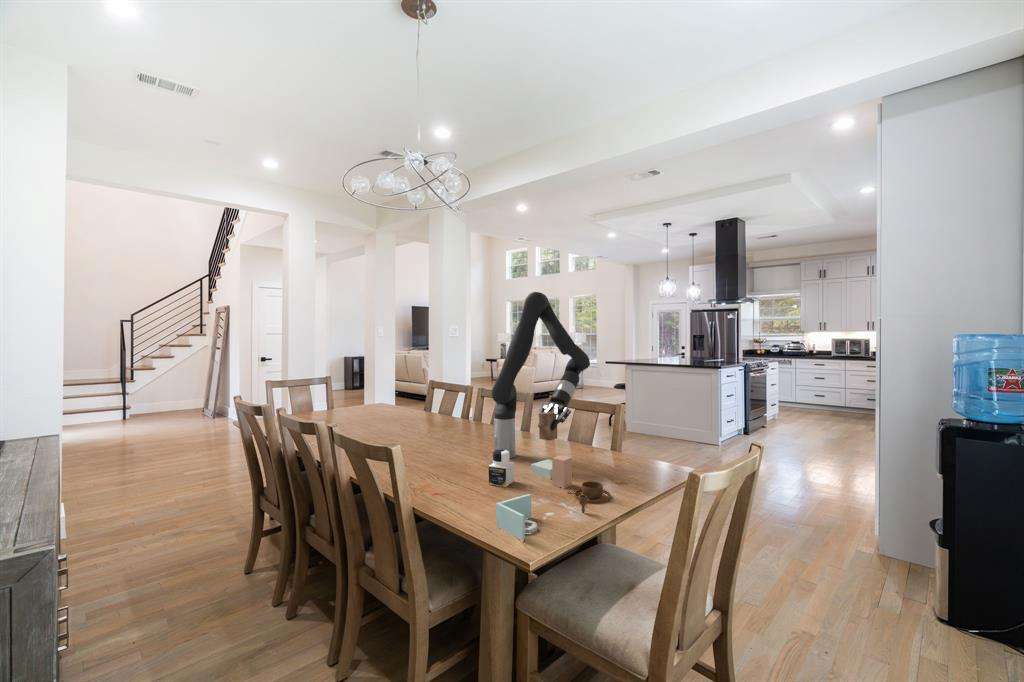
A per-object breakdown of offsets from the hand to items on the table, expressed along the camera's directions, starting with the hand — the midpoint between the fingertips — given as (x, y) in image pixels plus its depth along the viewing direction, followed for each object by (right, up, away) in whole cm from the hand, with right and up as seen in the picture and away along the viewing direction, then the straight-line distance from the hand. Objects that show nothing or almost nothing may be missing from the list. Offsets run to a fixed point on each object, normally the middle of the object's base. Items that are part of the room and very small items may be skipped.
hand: (545, 428), depth 180 cm
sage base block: (+1, -18, +2) cm, 18 cm away
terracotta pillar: (+5, -18, -12) cm, 23 cm away
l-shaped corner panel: (-9, -20, -48) cm, 53 cm away
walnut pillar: (+1, -4, +2) cm, 5 cm away
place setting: (+11, -19, -27) cm, 35 cm away
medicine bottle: (-17, -19, -9) cm, 27 cm away
